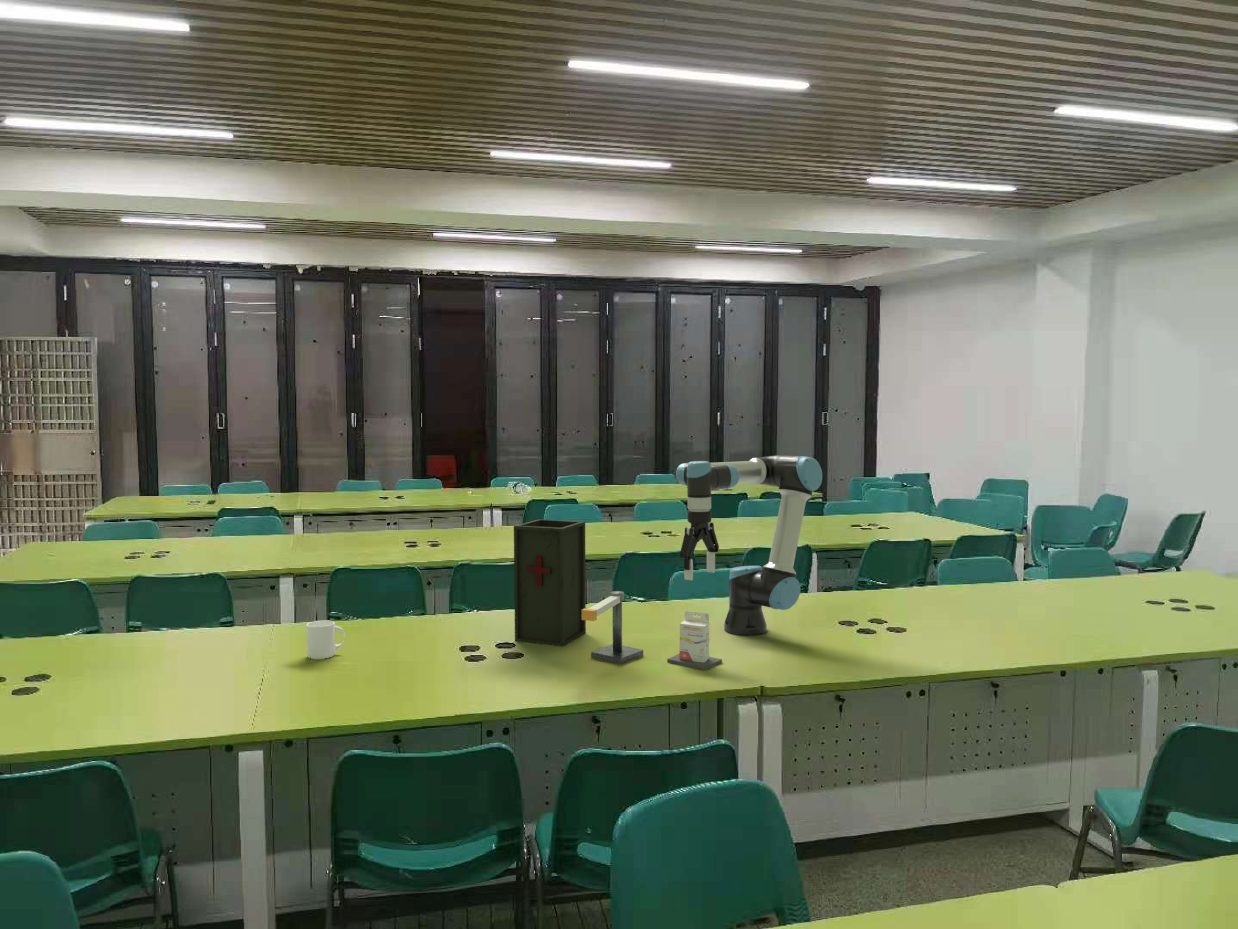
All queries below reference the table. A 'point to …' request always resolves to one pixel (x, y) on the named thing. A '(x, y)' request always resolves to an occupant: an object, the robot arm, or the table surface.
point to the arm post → (617, 644)
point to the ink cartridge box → (694, 637)
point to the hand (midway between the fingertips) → (699, 576)
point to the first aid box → (549, 581)
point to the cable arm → (602, 606)
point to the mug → (322, 639)
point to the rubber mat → (693, 664)
